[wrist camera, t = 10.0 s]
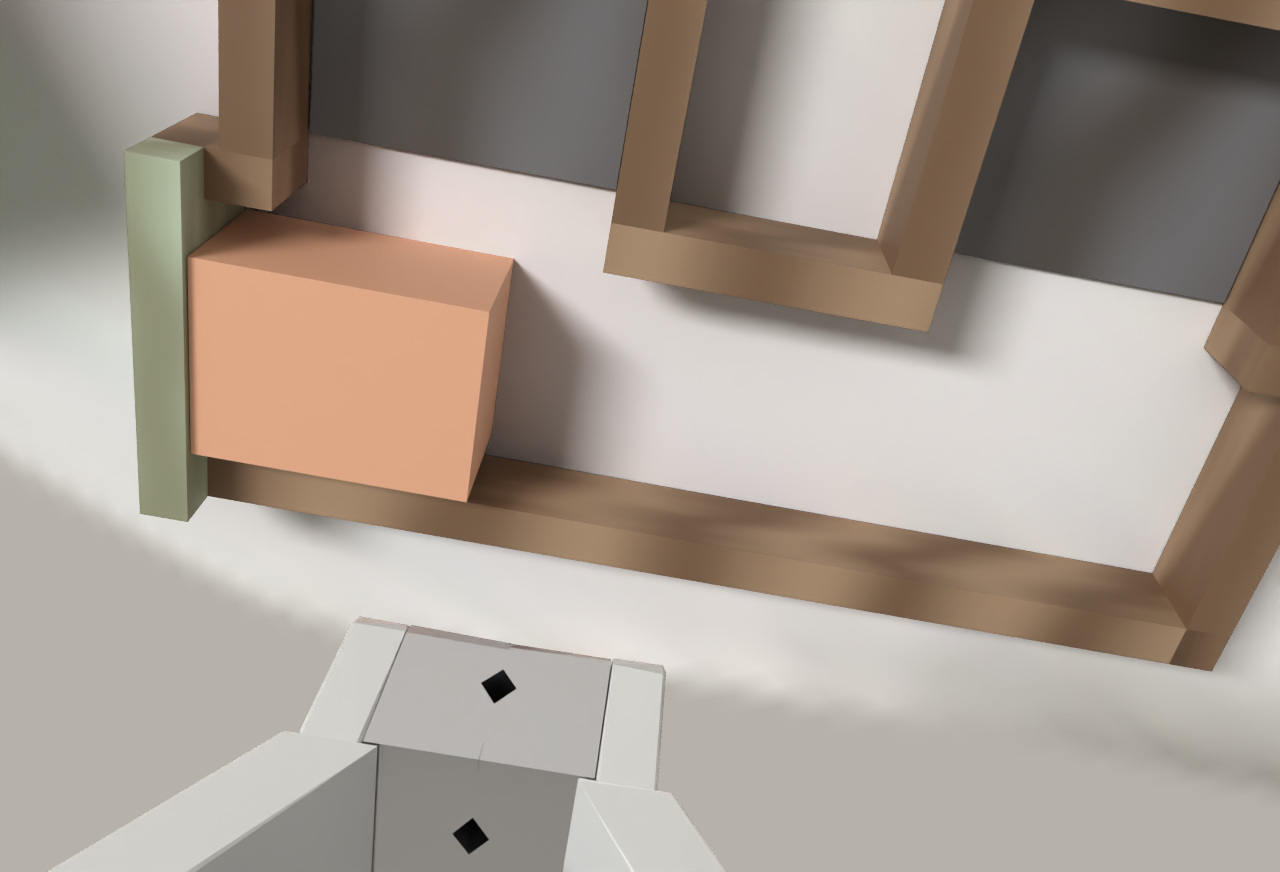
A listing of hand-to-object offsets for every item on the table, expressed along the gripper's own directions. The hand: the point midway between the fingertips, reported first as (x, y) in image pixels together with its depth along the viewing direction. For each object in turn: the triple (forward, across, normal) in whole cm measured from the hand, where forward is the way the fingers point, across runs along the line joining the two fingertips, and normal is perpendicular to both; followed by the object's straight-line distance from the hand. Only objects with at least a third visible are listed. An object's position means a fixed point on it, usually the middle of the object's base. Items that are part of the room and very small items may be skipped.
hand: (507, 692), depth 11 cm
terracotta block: (+23, +8, +7) cm, 26 cm away
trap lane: (+23, -4, +3) cm, 24 cm away
